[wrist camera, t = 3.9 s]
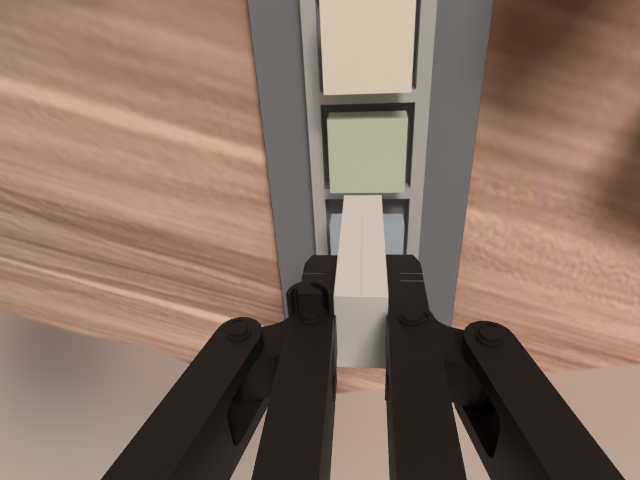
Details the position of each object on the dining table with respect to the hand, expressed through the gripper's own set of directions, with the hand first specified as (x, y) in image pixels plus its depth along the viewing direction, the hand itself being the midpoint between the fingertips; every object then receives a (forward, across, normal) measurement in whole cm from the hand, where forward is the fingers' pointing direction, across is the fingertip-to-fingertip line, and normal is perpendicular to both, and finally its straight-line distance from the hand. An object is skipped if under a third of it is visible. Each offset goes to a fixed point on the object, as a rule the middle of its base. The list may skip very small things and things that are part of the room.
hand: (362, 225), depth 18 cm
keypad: (+12, 0, -3) cm, 12 cm away
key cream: (+9, 0, +6) cm, 10 cm away
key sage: (+10, 0, 0) cm, 10 cm away
